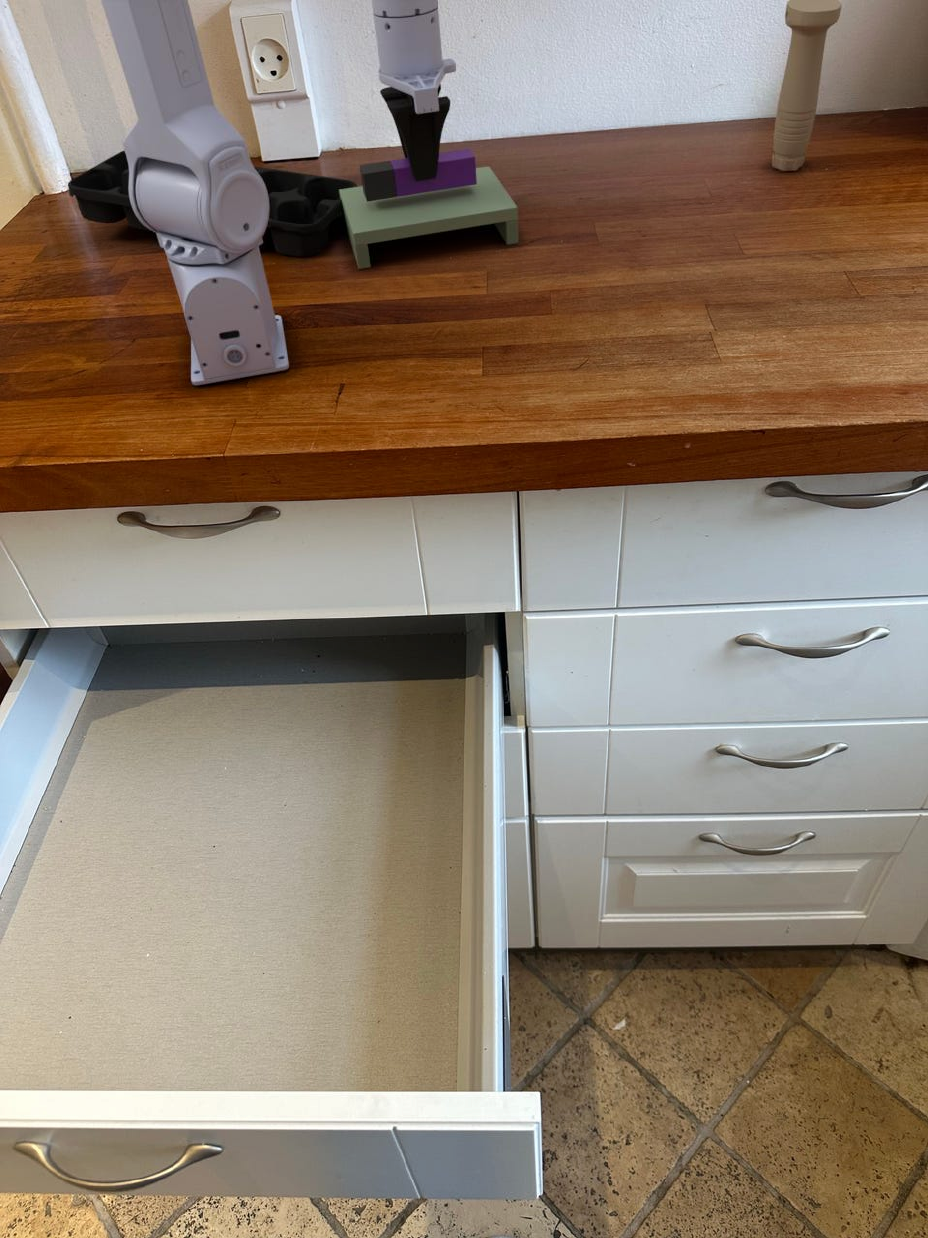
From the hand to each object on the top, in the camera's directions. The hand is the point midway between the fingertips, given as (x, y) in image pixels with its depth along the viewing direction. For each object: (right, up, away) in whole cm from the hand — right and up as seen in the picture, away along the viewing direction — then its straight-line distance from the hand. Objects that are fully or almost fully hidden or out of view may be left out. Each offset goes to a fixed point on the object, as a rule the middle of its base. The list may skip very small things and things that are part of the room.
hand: (422, 173), depth 89 cm
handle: (+39, +5, +9) cm, 40 cm away
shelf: (0, -4, +4) cm, 6 cm away
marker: (0, -1, +1) cm, 1 cm away
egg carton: (-22, -1, +9) cm, 24 cm away
